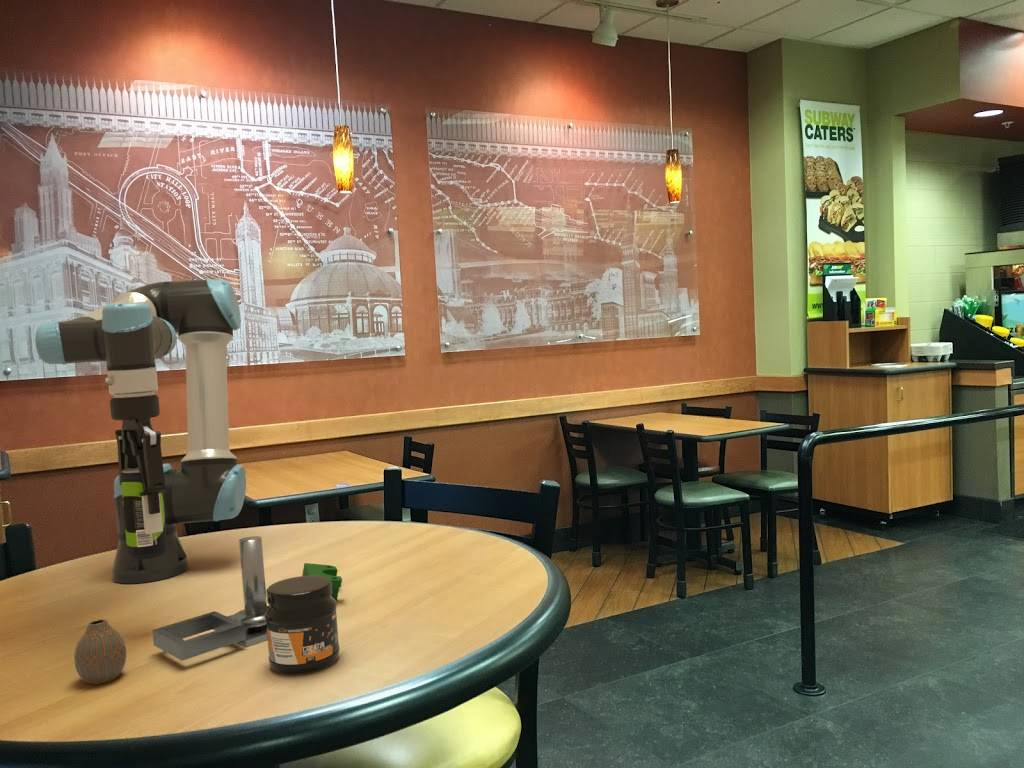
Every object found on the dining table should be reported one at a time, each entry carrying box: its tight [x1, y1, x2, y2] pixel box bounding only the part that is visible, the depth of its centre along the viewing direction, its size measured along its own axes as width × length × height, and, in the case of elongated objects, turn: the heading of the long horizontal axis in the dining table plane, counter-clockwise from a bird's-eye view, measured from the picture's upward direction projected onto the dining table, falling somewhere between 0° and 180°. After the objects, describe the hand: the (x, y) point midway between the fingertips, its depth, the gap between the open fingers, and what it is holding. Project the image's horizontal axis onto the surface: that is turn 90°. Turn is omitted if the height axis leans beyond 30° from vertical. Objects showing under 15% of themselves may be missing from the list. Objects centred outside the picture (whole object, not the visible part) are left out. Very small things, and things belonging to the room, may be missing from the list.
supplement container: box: [265, 575, 340, 675], centre depth 123 cm, size 10×10×12 cm
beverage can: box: [121, 467, 167, 560], centre depth 138 cm, size 6×6×15 cm
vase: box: [73, 618, 127, 685], centre depth 121 cm, size 7×7×9 cm
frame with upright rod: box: [151, 535, 268, 662], centre depth 133 cm, size 10×20×16 cm, turn 136°
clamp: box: [301, 562, 343, 602], centre depth 153 cm, size 12×6×9 cm, turn 14°
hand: (145, 529), depth 139 cm, fingers closed on beverage can, 6 cm apart
